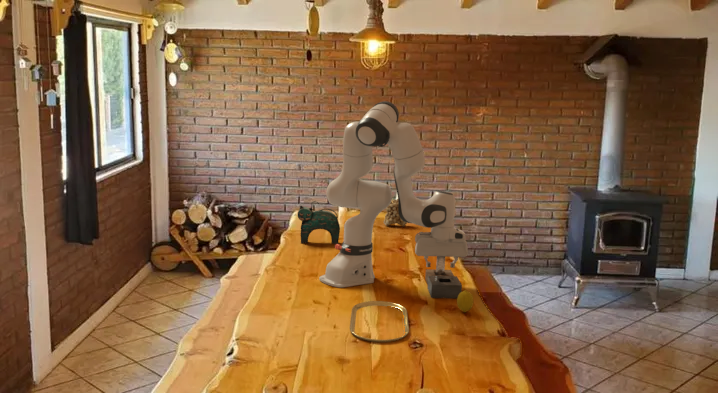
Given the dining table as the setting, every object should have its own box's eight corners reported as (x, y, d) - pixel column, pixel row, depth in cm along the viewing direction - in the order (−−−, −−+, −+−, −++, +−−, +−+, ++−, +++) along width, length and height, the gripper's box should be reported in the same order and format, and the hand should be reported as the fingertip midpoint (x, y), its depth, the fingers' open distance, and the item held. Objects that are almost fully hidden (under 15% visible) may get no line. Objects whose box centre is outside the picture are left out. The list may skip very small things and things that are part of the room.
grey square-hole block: (461, 298, 251) (461, 285, 250) (431, 297, 250) (431, 284, 249) (456, 288, 261) (456, 276, 260) (427, 288, 261) (428, 275, 260)
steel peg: (439, 285, 265) (441, 257, 263) (433, 282, 268) (435, 255, 266) (445, 283, 268) (446, 256, 266) (439, 281, 270) (440, 254, 268)
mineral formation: (382, 224, 365) (383, 196, 363) (407, 224, 366) (408, 197, 364) (384, 227, 358) (385, 199, 355) (409, 228, 358) (410, 200, 356)
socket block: (454, 287, 263) (454, 277, 262) (428, 287, 263) (428, 276, 262) (450, 279, 273) (450, 269, 272) (425, 279, 272) (425, 269, 272)
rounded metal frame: (348, 343, 208) (348, 338, 208) (352, 304, 242) (353, 299, 242) (409, 345, 207) (410, 340, 207) (405, 306, 242) (406, 302, 242)
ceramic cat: (297, 243, 320) (297, 201, 316) (297, 240, 326) (298, 199, 322) (339, 244, 320) (340, 203, 317) (339, 241, 327) (340, 200, 323)
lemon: (470, 309, 239) (472, 287, 238) (473, 315, 234) (475, 292, 232) (455, 309, 239) (456, 287, 238) (457, 315, 234) (459, 292, 232)
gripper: (416, 233, 260) (414, 268, 263) (469, 235, 261) (467, 270, 264) (414, 229, 267) (412, 264, 269) (466, 231, 267) (464, 265, 270)
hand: (440, 267), depth 266 cm, fingers open, 8 cm apart
